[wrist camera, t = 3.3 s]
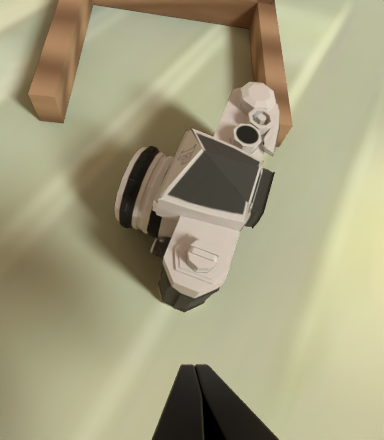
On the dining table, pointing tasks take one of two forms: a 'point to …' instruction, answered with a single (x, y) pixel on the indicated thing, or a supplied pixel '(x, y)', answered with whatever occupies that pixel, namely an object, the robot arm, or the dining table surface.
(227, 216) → the camera
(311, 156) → the dining table surface
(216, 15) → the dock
